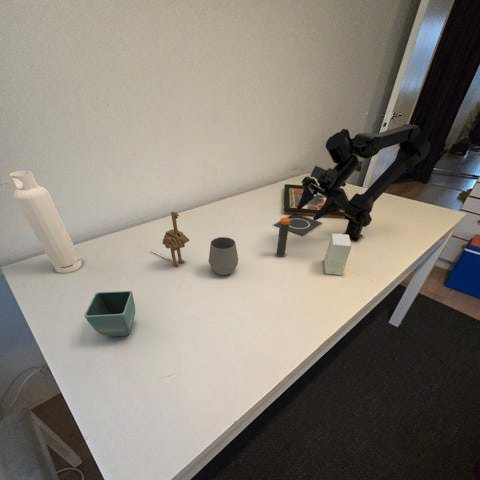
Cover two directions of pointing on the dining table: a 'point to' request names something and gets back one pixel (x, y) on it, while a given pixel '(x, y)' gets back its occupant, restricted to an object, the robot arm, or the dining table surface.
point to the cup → (223, 255)
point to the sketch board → (300, 224)
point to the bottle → (45, 222)
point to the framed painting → (293, 198)
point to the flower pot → (111, 313)
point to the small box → (337, 253)
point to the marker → (282, 236)
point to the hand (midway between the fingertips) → (305, 214)
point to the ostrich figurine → (174, 240)
